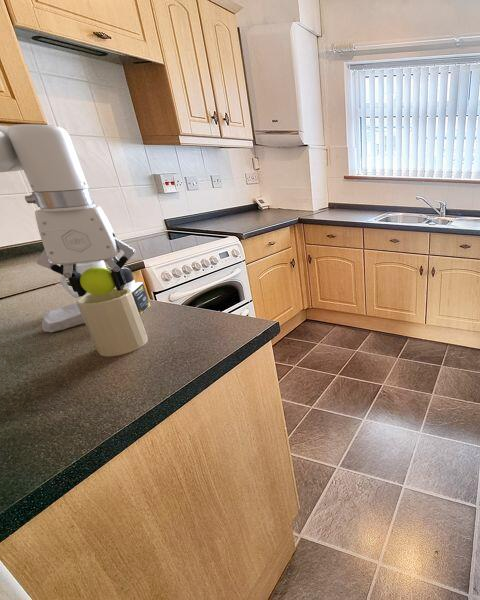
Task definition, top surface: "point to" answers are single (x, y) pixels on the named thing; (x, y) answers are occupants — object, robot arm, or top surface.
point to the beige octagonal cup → (113, 322)
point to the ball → (97, 281)
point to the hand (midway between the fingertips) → (102, 290)
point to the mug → (80, 269)
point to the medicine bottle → (136, 291)
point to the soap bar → (62, 318)
